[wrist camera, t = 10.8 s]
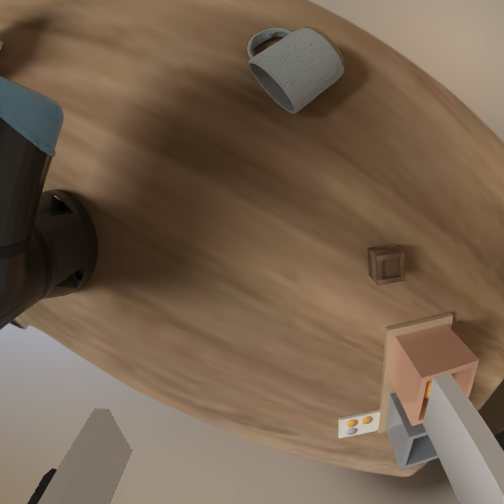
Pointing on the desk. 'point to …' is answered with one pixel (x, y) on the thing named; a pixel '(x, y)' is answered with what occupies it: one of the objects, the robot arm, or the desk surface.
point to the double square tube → (418, 381)
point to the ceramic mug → (295, 65)
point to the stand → (386, 264)
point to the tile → (358, 424)
